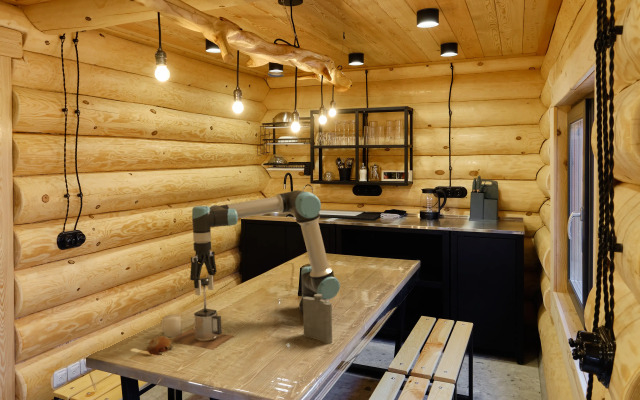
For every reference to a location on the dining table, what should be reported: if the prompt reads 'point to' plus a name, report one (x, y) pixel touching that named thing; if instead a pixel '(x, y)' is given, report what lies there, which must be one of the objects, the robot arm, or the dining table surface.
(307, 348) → the dining table surface
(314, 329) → the grey upright slab
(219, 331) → the grey faceted handled container
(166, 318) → the cream egg shape
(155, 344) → the bread roll
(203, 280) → the plunger
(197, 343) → the board
